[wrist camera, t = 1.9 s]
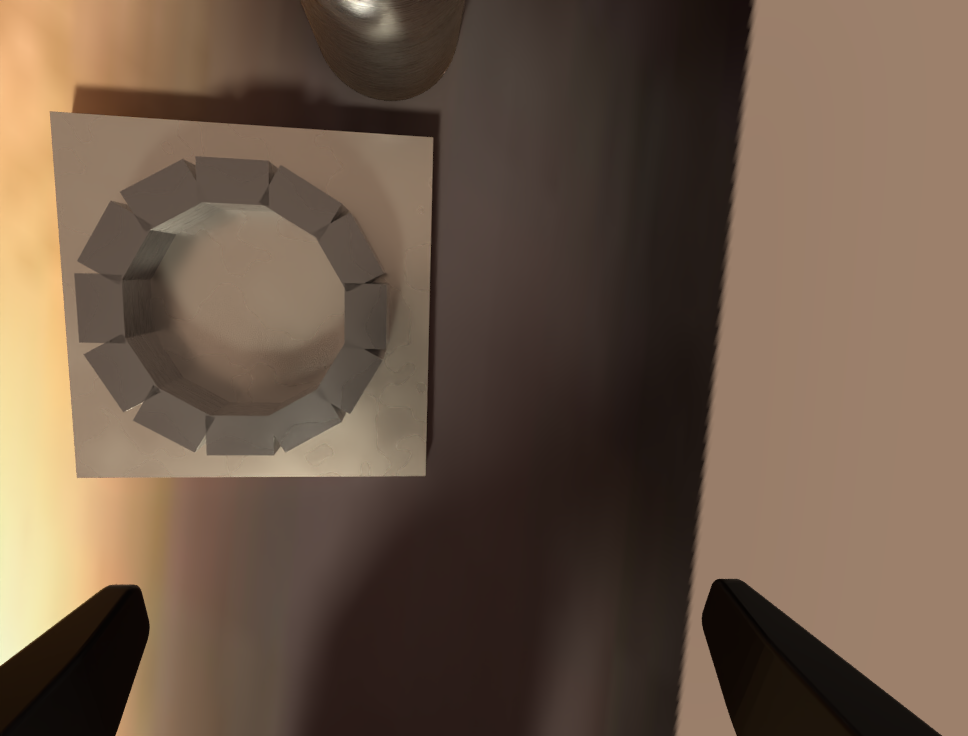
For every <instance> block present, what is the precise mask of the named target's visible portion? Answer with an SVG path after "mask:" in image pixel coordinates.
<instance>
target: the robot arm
mask: <svg viewBox="0 0 968 736" xmlns="http://www.w3.org/2000/svg"><path fill="white" fill-rule="evenodd" d="M702 626H703V630H704V634H705V637H706V640H707V644H708V647H709V650H710V653H711V657H712V660H713V663H714V667H715V670H716V673H717V677H718V680H719V683H720V686H721V690H722V693H723V696H724V699H725V703H726V706H727V709H728V712H729V715H730V718H731V721H732V724H733V727H734V729H735V732H736V735H737V736H942V735H940V734H939V733H938V732H936V731H935V730H934V729H933V728H931V727H930V726H929V725H928V724H926V723H925V722H924V721H922V720H921V719H920V718H918V717H917V716H916V715H915V714H913V713H912V712H911V711H910V710H908V709H907V708H906V707H904V706H903V705H902V704H900V703H899V702H898V701H897V700H895V699H894V698H893V697H892V696H890V695H889V694H888V693H886V692H885V691H884V690H883V689H881V688H880V687H879V686H877V685H876V684H875V683H873V682H872V681H871V680H870V679H868V678H867V677H866V676H864V675H863V674H862V673H861V672H859V671H858V670H857V669H855V668H854V667H853V666H852V665H850V664H849V663H848V662H846V661H845V660H844V659H843V658H841V657H840V656H839V655H837V654H836V653H835V652H834V651H832V650H831V649H830V648H828V647H827V646H826V645H825V644H823V643H822V642H821V641H819V640H818V639H817V638H816V637H814V636H813V635H811V634H810V633H809V632H808V631H807V630H805V629H804V628H803V627H801V626H800V625H799V624H798V623H796V622H795V621H794V620H792V619H791V618H790V617H789V616H787V615H786V614H785V613H783V612H782V611H781V610H780V609H778V608H777V607H776V606H774V605H773V604H772V603H771V602H769V601H768V600H767V599H765V598H764V597H763V596H762V595H760V594H759V593H758V592H756V591H755V590H754V589H752V588H751V587H750V586H748V585H747V584H746V583H745V582H743V581H741V580H739V579H717V580H715V581H714V582H713V584H712V586H711V589H710V592H709V595H708V598H707V601H706V604H705V607H704V610H703V613H702ZM149 629H150V626H149V619H148V615H147V611H146V607H145V603H144V599H143V595H142V592H141V589H140V588H139V587H138V586H137V585H109V586H107V587H105V588H103V589H102V590H100V591H99V592H98V593H96V594H95V595H94V596H92V597H91V598H90V599H88V600H87V601H86V602H84V603H83V604H82V605H80V606H79V607H78V608H76V609H75V610H74V611H72V612H71V613H70V614H68V615H67V616H66V617H64V618H63V619H62V620H61V621H59V622H58V623H57V624H55V625H54V626H53V627H51V628H50V629H49V630H47V631H46V632H45V633H43V634H42V635H41V636H39V637H38V638H37V639H35V640H34V641H33V642H31V643H30V644H29V645H27V646H26V647H25V648H23V649H22V650H21V651H19V652H18V653H17V654H16V655H14V656H13V657H12V658H10V659H9V660H8V661H6V662H5V663H4V664H2V665H1V666H0V736H115V735H116V732H117V730H118V727H119V724H120V721H121V718H122V715H123V712H124V709H125V706H126V703H127V700H128V697H129V694H130V691H131V688H132V685H133V682H134V679H135V676H136V673H137V670H138V667H139V664H140V661H141V658H142V655H143V652H144V649H145V646H146V643H147V640H148V636H149Z"/></svg>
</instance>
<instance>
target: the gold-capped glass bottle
mask: <svg viewBox="0 0 968 736" xmlns="http://www.w3.org/2000/svg"><path fill="white" fill-rule="evenodd" d="M300 1H301V4H302V6H303V9H304V11H305V14H306V16H307V19H308V21H309V23H310V26H311V28H312V31H313V33H314V36H315V38H316V41H317V43H318V46H319V48H320V50H321V53H322V55H323V57H324V59H325V61H326V62H327V64H328V65H329V67H330V68H331V70H332V71H333V72H334V73H335V75H336V76H337V77H338V78H339V79H340V80H341V81H342V82H344V83H345V84H346V85H347V86H349V87H350V88H351V89H353V90H355V91H357V92H358V93H360V94H363V95H365V96H367V97H370V98H374V99H378V100H384V101H398V100H405V99H409V98H412V97H415V96H417V95H420V94H422V93H423V92H425V91H427V90H428V89H430V88H431V87H432V86H433V85H435V84H436V83H437V82H438V81H439V80H440V79H441V77H442V76H443V75H444V74H445V72H446V71H447V69H448V67H449V65H450V63H451V62H452V59H453V56H454V54H455V51H456V46H457V41H458V36H459V31H460V26H461V20H462V15H463V10H464V5H465V0H300Z"/></svg>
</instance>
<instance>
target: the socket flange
mask: <svg viewBox="0 0 968 736" xmlns="http://www.w3.org/2000/svg"><path fill="white" fill-rule="evenodd" d="M50 120H51V133H52V147H53V161H54V174H55V188H56V201H57V215H58V228H59V242H60V255H61V269H62V282H63V296H64V309H65V323H66V336H67V350H68V363H69V377H70V390H71V404H72V418H73V431H74V445H75V458H76V472H77V478H122V477H322V476H426V434H427V390H428V347H429V303H430V260H431V216H432V173H433V137H419V136H405V135H390V134H375V133H360V132H346V131H331V130H316V129H301V128H287V127H272V126H257V125H242V124H228V123H213V122H198V121H183V120H169V119H154V118H139V117H124V116H110V115H95V114H80V113H66V112H51V111H50Z"/></svg>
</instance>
